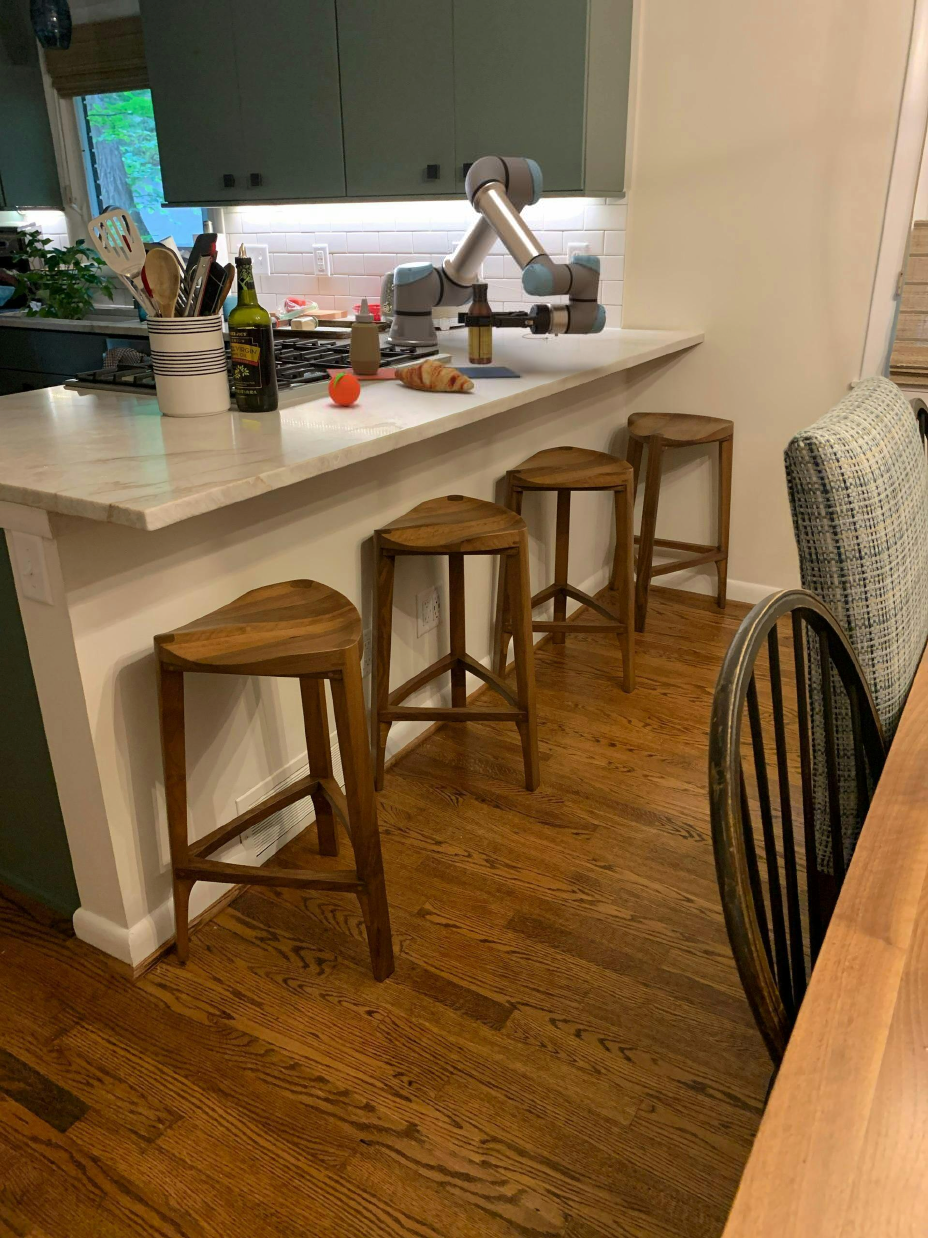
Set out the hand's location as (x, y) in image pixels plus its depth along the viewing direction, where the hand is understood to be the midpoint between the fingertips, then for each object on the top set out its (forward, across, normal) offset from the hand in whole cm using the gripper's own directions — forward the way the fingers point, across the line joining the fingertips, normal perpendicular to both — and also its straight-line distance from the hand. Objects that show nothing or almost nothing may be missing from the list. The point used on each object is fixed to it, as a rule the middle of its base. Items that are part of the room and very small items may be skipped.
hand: (461, 319), depth 237 cm
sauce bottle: (-5, 0, -11) cm, 12 cm away
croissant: (+12, -20, -14) cm, 27 cm away
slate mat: (-5, 0, -14) cm, 14 cm away
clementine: (+36, -37, -14) cm, 53 cm away
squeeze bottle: (+25, 0, -13) cm, 28 cm away
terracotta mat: (+25, 0, -14) cm, 28 cm away
